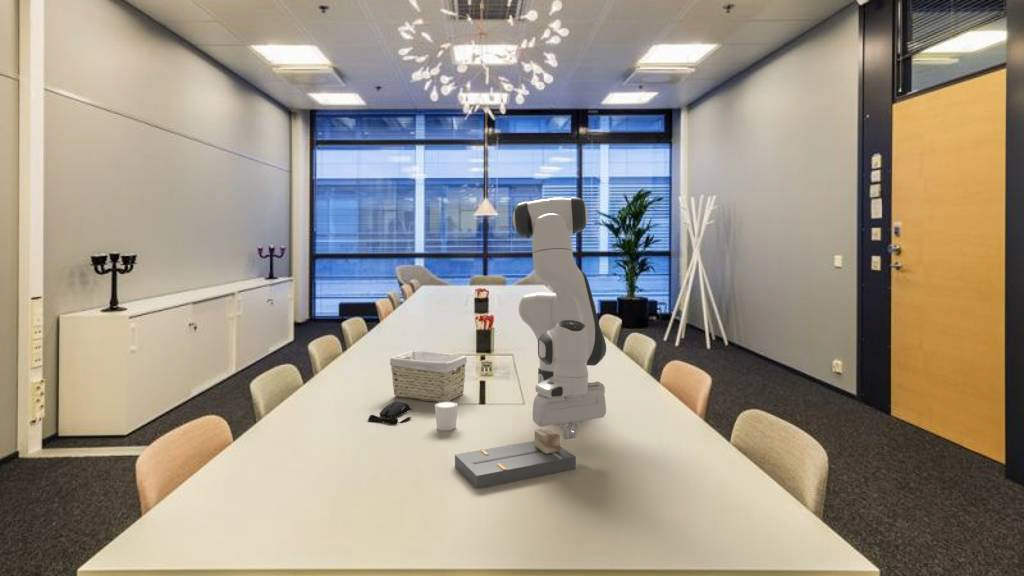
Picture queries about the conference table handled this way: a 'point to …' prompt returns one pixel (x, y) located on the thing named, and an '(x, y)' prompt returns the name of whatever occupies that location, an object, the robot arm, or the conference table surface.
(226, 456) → the conference table surface
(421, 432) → the conference table surface
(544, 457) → the fader console
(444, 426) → the white cup
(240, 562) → the conference table surface
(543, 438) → the fader tab
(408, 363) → the storage basket
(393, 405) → the computer mouse
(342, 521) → the conference table surface
